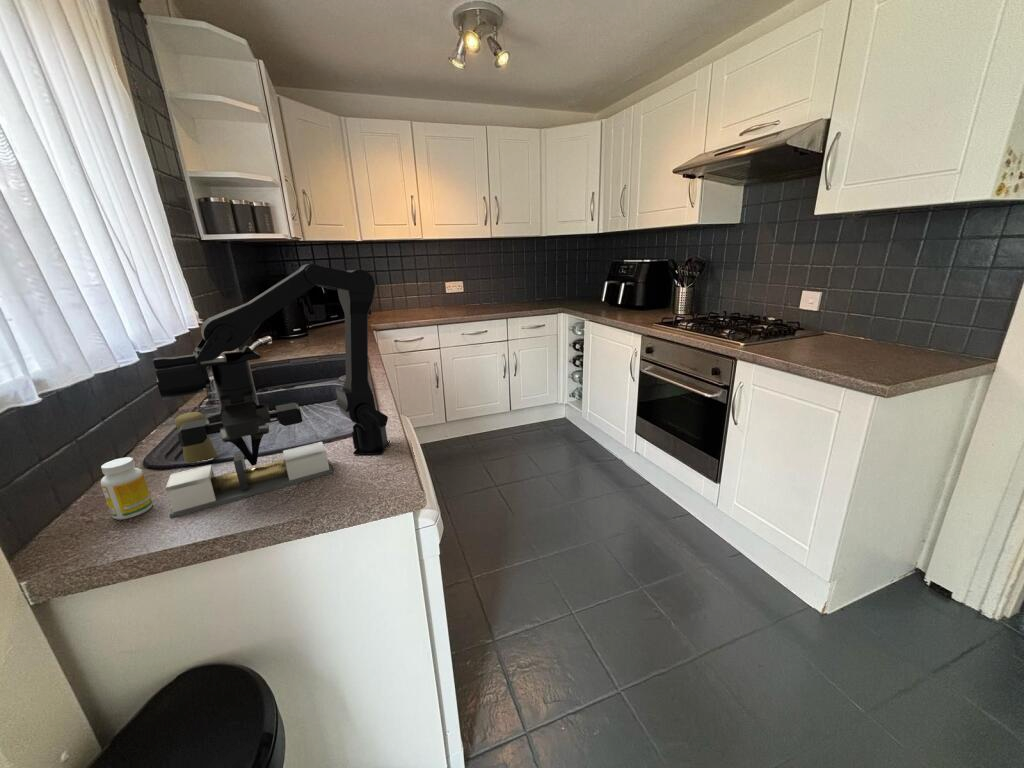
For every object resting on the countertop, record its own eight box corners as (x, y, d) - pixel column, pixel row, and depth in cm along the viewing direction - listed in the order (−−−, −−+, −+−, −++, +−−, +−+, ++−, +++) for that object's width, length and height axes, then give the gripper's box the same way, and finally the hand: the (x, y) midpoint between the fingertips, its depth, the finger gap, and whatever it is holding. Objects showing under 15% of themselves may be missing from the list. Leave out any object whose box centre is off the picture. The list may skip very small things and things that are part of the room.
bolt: (311, 462, 85) (305, 435, 83) (314, 471, 81) (308, 444, 79) (213, 487, 76) (204, 458, 75) (211, 499, 72) (202, 469, 70)
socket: (217, 487, 77) (211, 464, 76) (215, 500, 72) (209, 477, 71) (178, 497, 74) (171, 473, 73) (173, 512, 69) (165, 487, 68)
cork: (204, 465, 88) (191, 418, 85) (177, 466, 88) (163, 419, 85) (223, 453, 93) (212, 408, 90) (197, 454, 93) (185, 409, 90)
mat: (327, 460, 87) (326, 457, 87) (332, 473, 82) (332, 470, 82) (176, 499, 74) (175, 496, 74) (170, 518, 69) (169, 514, 68)
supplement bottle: (104, 521, 68) (85, 471, 66) (129, 504, 74) (113, 456, 71) (138, 518, 69) (120, 468, 66) (161, 501, 74) (145, 454, 71)
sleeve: (325, 459, 86) (321, 441, 85) (329, 469, 82) (325, 450, 81) (287, 469, 83) (283, 450, 82) (289, 480, 78) (284, 460, 77)
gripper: (161, 409, 61) (188, 499, 66) (297, 386, 71) (313, 466, 75) (172, 392, 70) (195, 472, 75) (291, 374, 80) (306, 446, 84)
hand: (254, 464), depth 77 cm, fingers closed
